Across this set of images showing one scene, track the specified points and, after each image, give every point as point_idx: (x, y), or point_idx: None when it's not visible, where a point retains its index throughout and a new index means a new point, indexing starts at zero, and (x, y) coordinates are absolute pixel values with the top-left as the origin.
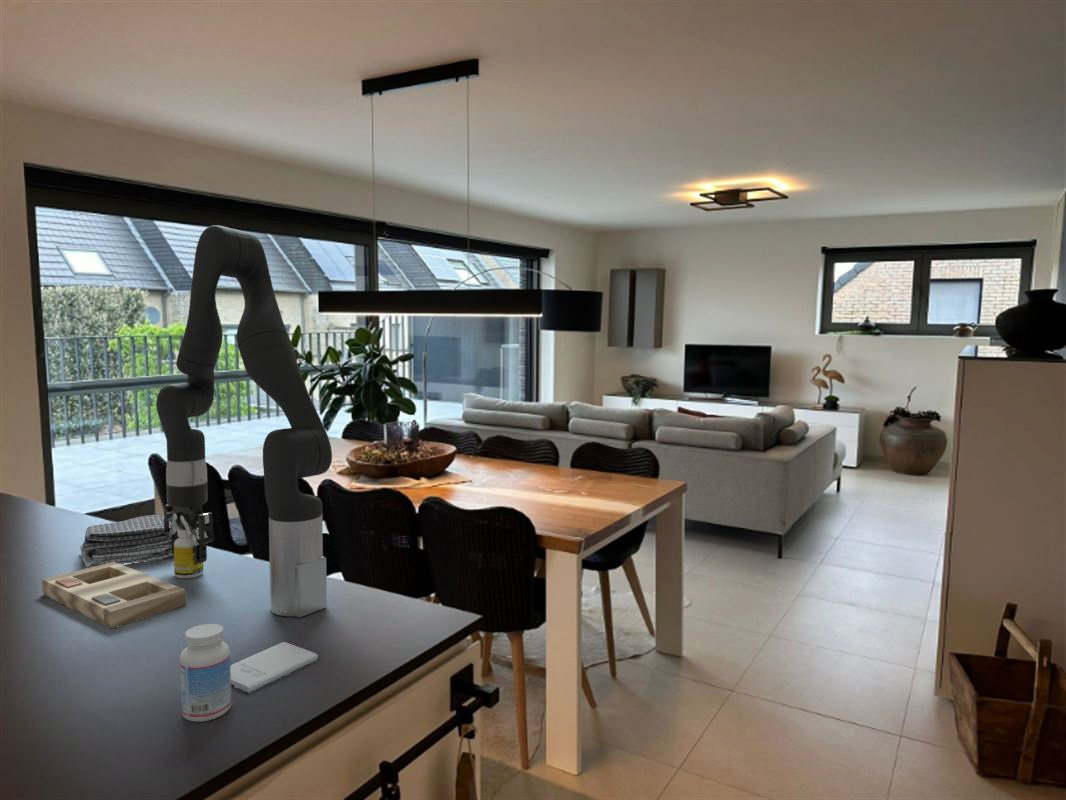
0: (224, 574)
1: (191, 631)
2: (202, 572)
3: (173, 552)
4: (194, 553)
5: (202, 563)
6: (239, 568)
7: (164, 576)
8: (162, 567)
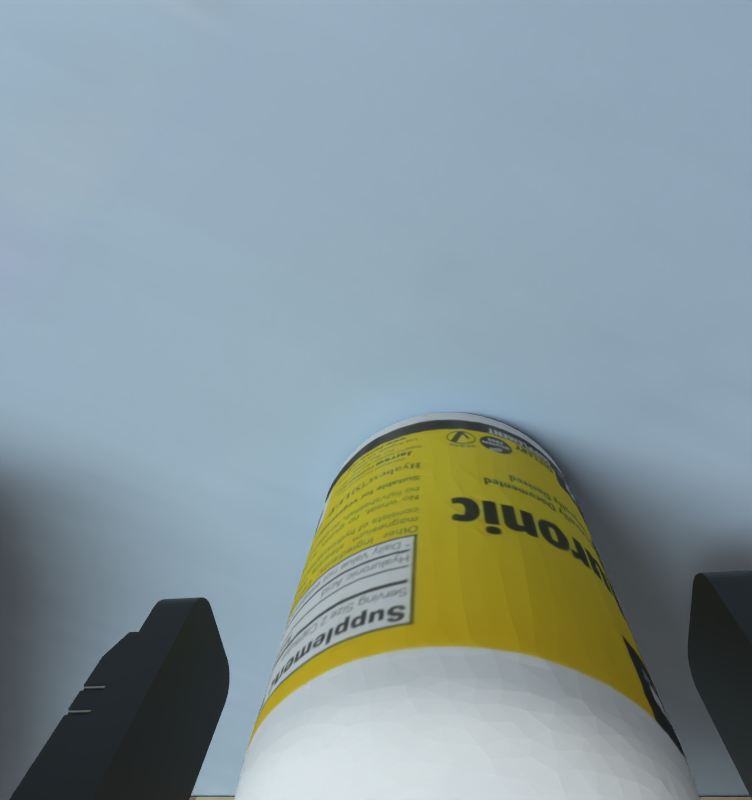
0: (729, 289)
1: None
2: (544, 451)
3: (219, 710)
4: (748, 789)
5: (567, 502)
6: (692, 43)
7: None
8: (103, 567)
